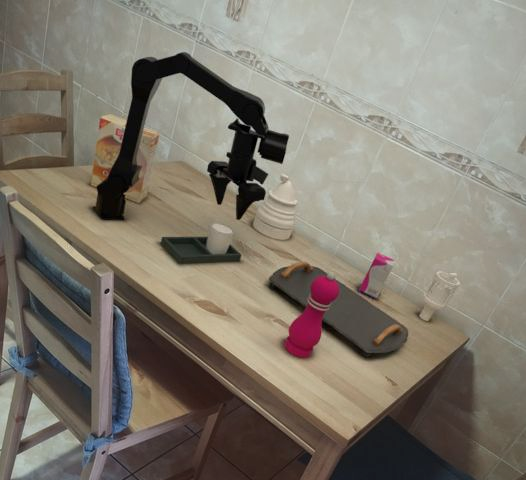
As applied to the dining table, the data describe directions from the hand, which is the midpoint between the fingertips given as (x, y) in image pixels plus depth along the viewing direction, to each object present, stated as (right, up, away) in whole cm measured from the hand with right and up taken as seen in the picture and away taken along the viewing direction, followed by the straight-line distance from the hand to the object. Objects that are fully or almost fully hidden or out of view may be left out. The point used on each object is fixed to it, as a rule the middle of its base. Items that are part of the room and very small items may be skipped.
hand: (228, 211), depth 133 cm
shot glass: (-4, -10, +6) cm, 12 cm away
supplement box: (+41, -19, +19) cm, 49 cm away
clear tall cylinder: (+57, -27, +17) cm, 65 cm away
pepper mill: (+17, -36, -20) cm, 44 cm away
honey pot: (+12, +3, +33) cm, 35 cm away
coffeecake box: (-34, +11, +17) cm, 40 cm away
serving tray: (+28, -27, +1) cm, 39 cm away
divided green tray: (-8, -10, +3) cm, 13 cm away
